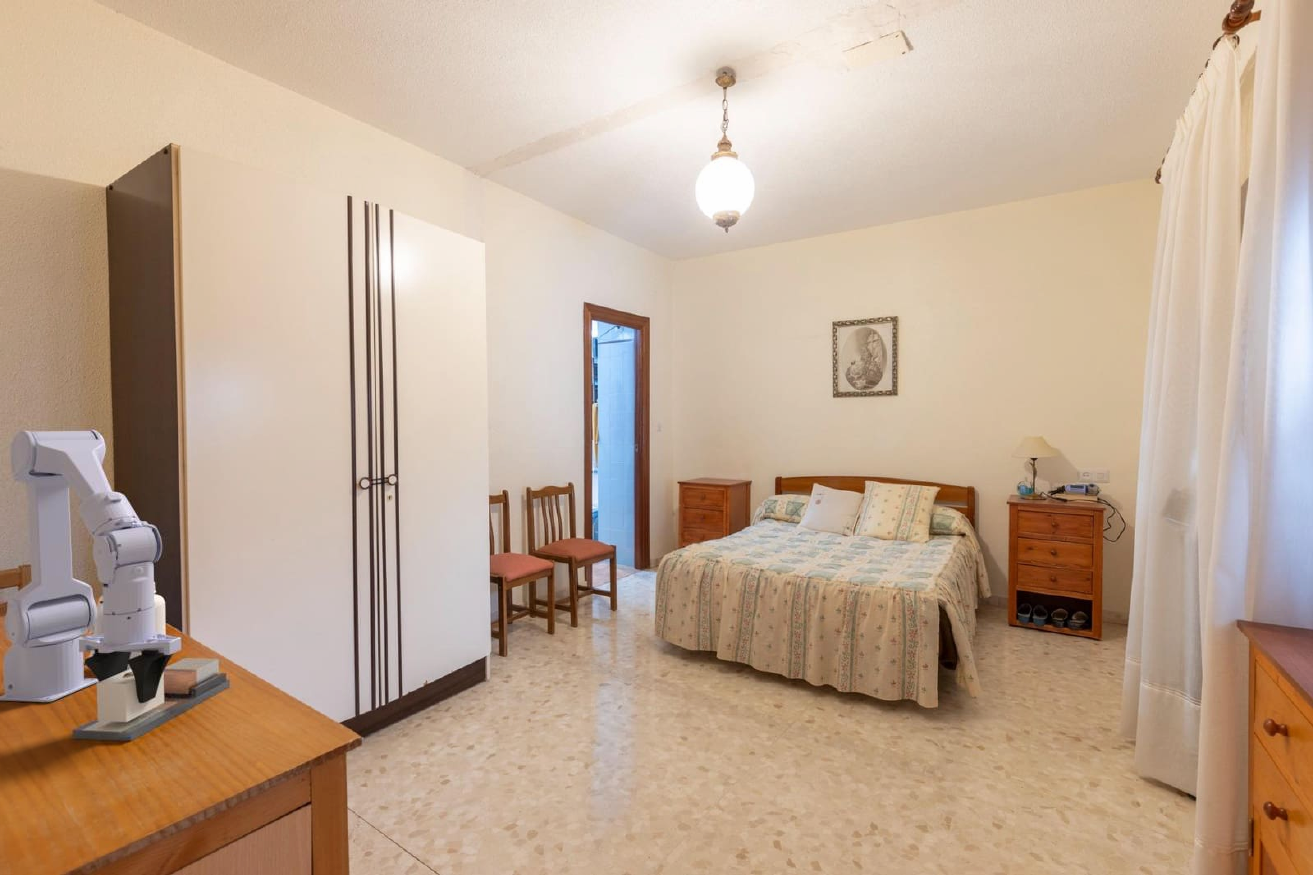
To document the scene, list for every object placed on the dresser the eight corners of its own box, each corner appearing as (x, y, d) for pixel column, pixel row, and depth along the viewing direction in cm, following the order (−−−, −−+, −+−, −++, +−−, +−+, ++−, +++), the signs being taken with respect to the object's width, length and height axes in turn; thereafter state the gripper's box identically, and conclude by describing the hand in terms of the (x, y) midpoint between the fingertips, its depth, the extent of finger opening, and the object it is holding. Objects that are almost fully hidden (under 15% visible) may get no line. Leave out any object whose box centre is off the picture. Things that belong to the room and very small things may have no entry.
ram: (153, 694, 96) (153, 672, 96) (186, 678, 102) (185, 658, 102) (188, 695, 95) (187, 673, 95) (219, 679, 101) (218, 659, 101)
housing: (97, 720, 86) (96, 681, 86) (137, 701, 92) (136, 665, 92) (126, 722, 86) (125, 682, 86) (164, 702, 92) (163, 665, 92)
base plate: (72, 738, 85) (72, 721, 85) (180, 684, 102) (180, 671, 102) (131, 741, 84) (130, 724, 84) (229, 686, 102) (229, 672, 102)
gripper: (55, 616, 85) (58, 710, 86) (149, 618, 84) (151, 714, 84) (105, 601, 92) (107, 688, 93) (192, 603, 91) (194, 691, 91)
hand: (131, 699), depth 89 cm, fingers closed on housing, 4 cm apart
